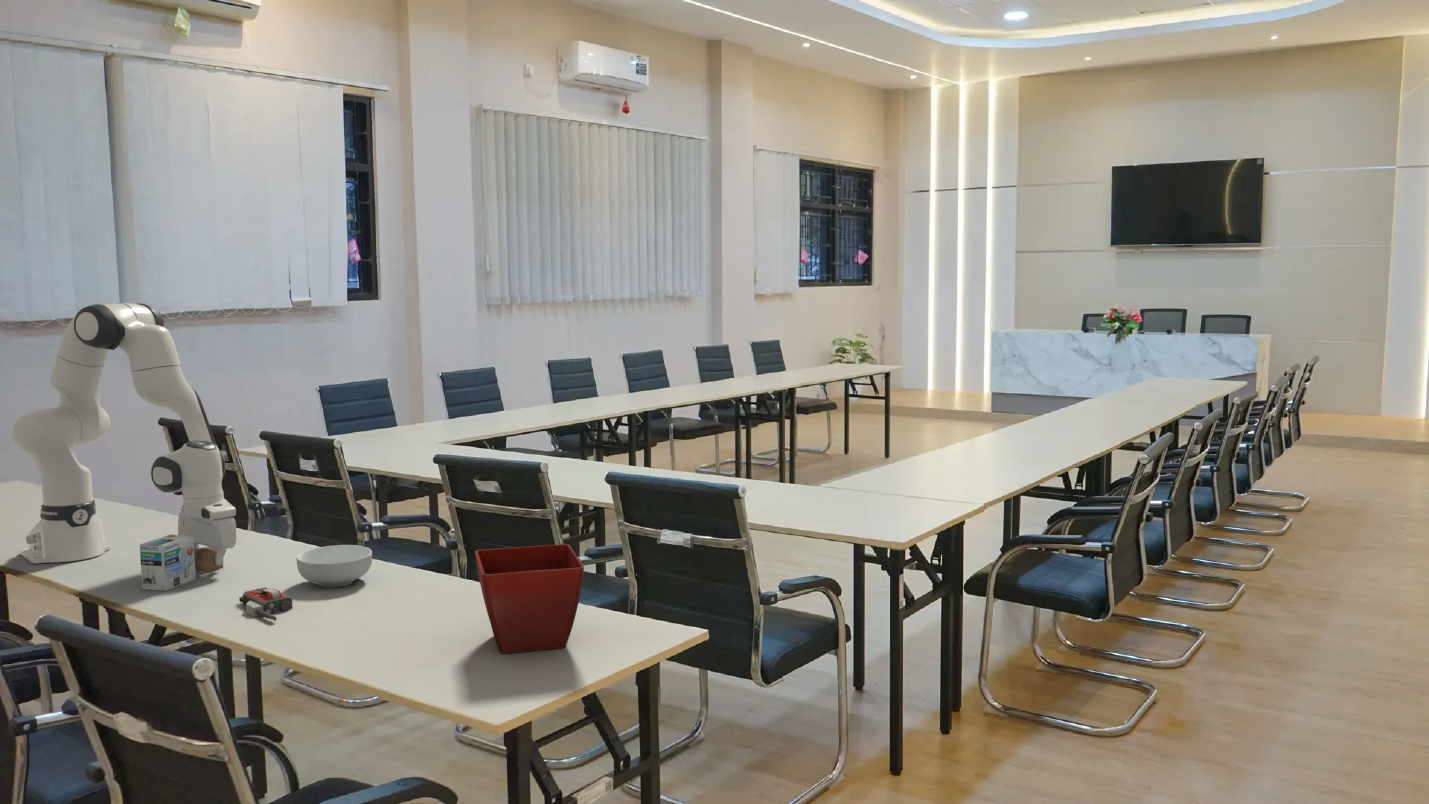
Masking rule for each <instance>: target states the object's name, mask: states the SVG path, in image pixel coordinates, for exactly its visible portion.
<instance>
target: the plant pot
mask: <svg viewBox="0 0 1429 804" xmlns="http://www.w3.org/2000/svg"><path fill="white" fill-rule="evenodd" d="M474 555H475V562H476V568H477V575H478V578H479V579H478V580H479V584H480V590H481V593H482V597H483V601H484V605H485V606H484V607H485V610H486V613H487V615H488V620H489V623H490V626H491V630H492V634H493V637H494V641H495V645H496V646H497V650H498V653H500V654H512V653H514V654H515V653H524V652H525V653H526V652H533V651H534V652H536V651H545V650H554V649H555V650H557V649H564V648H565V647H566V646H567V645H568V641H569V639H570V635H571V633H572V629H573V626H574V622H575V619H576V615H577V611H578V607H579V606H578V605H579V601H580V598H581V597H580V596H581V593H582V592H581V591H582V586H583V579H584V570H585V566H584V565H583V563H582V562H581V560H580V559H579V557H578V556H577V553H575V551H574V549H573V548H572V546H571V545H570V544H567V543H564V544H545V545H533V546H532V545H531V546H518V547H517V546H514V547H502V548H501V547H500V548H489V549H488V548H487V549H478V550H477V549H476V550H475V551H474Z"/></svg>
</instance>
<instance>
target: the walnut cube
mask: <svg viewBox="0 0 1429 804" xmlns="http://www.w3.org/2000/svg"><path fill="white" fill-rule="evenodd" d="M215 555H216V552H215V548H213V547H209V546H204V547H199V549H194V556H195V571H197V572H201V571H202V573H207V571H208V572H212V571H215V570H216V571H217V570H220V569H221V570H222V569H224V563H223V564H222V565H215V564H214V563H213V562H214V561H213V558H215Z"/></svg>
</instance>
